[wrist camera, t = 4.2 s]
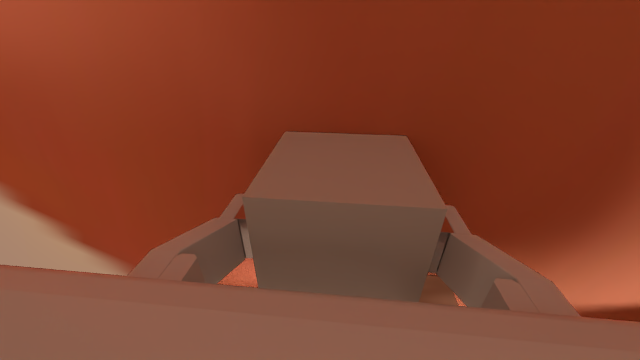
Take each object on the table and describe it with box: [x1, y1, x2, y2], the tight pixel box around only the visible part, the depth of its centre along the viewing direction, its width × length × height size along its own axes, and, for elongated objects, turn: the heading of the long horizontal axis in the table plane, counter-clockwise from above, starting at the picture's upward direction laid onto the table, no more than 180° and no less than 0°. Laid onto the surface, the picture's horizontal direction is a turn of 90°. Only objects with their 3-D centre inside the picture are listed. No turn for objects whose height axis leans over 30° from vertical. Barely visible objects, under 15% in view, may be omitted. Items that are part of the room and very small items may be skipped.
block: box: [242, 131, 447, 302], centre depth 10 cm, size 5×5×5 cm
